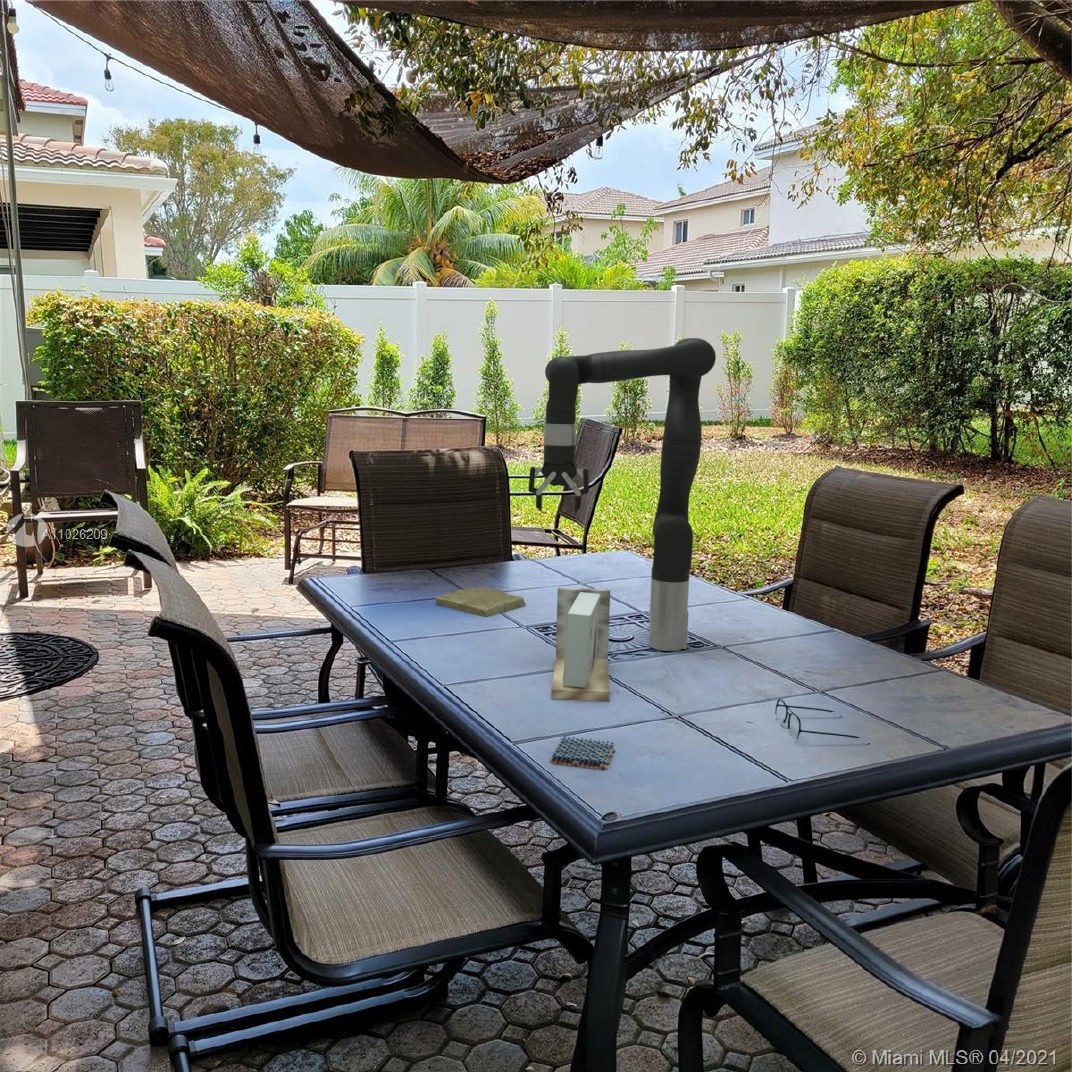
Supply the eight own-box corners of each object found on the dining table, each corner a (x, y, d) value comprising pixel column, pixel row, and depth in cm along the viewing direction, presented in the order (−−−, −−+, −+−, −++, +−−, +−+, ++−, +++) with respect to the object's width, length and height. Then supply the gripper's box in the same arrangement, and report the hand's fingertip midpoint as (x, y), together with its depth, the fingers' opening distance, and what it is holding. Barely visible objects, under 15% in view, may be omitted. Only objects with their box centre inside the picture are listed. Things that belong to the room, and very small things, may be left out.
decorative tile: (486, 619, 269) (486, 606, 269) (434, 606, 282) (434, 594, 281) (530, 607, 284) (530, 595, 283) (479, 595, 296) (479, 584, 296)
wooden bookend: (607, 665, 229) (610, 589, 226) (609, 701, 205) (612, 616, 202) (555, 662, 230) (557, 587, 227) (551, 698, 205) (553, 614, 202)
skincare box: (588, 689, 206) (590, 615, 203) (562, 687, 207) (564, 613, 204) (598, 660, 226) (601, 592, 224) (575, 658, 227) (577, 590, 224)
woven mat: (617, 750, 180) (617, 740, 180) (606, 773, 170) (607, 762, 169) (561, 744, 182) (561, 733, 182) (547, 766, 172) (548, 755, 172)
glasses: (772, 719, 198) (777, 695, 197) (844, 727, 199) (848, 704, 198) (795, 747, 184) (800, 721, 183) (872, 755, 185) (877, 730, 184)
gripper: (590, 442, 236) (587, 509, 239) (530, 440, 237) (529, 507, 239) (590, 445, 229) (588, 514, 232) (528, 443, 229) (527, 512, 232)
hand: (558, 510), depth 235 cm, fingers open, 8 cm apart
